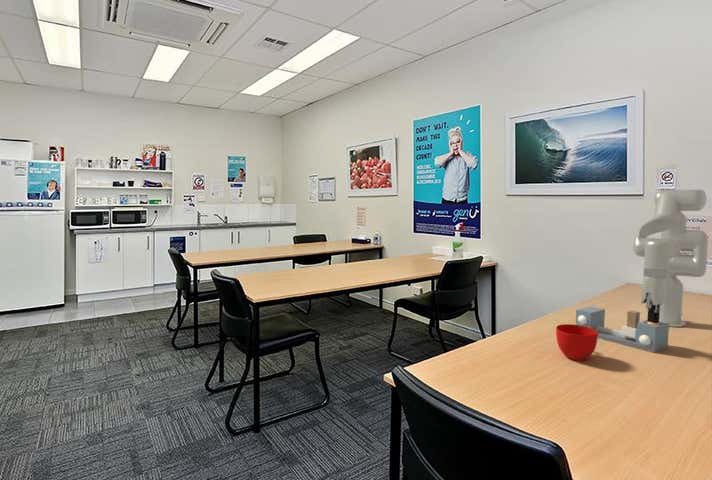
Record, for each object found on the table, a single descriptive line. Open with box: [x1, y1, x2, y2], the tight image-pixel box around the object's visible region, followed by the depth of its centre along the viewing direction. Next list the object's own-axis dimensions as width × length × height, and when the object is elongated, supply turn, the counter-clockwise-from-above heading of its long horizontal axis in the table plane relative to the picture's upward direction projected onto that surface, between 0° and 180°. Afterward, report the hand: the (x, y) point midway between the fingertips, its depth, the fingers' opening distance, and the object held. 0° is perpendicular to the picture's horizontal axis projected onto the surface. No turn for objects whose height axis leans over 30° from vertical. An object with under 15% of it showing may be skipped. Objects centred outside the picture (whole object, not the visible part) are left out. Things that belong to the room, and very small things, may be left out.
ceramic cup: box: [555, 323, 599, 362], centre depth 145 cm, size 13×17×10 cm
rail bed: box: [575, 305, 670, 354], centre depth 161 cm, size 12×29×10 cm, turn 32°
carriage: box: [620, 310, 641, 340], centre depth 157 cm, size 7×5×10 cm
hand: (653, 322), depth 151 cm, fingers closed
